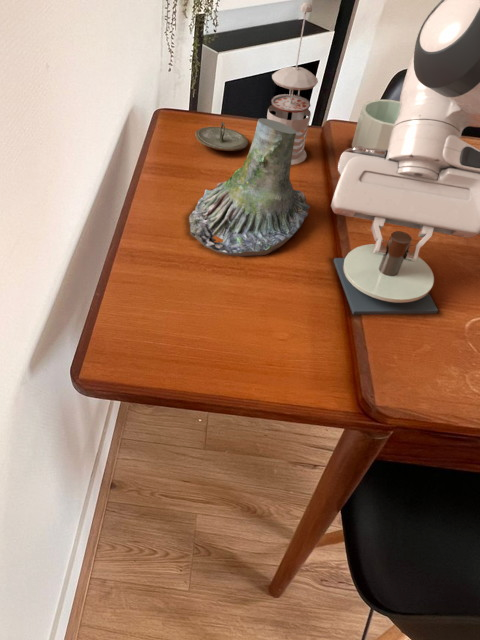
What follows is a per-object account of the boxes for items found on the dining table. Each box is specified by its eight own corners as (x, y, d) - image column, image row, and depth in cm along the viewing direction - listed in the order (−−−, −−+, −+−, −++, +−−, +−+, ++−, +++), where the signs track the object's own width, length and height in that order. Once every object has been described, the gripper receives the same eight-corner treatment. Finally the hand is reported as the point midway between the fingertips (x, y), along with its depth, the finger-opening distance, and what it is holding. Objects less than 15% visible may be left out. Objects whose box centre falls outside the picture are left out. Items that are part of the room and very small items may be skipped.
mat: (408, 261, 82) (410, 257, 81) (436, 314, 74) (438, 310, 73) (333, 262, 81) (334, 257, 80) (352, 315, 73) (353, 311, 72)
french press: (253, 162, 100) (272, 7, 81) (263, 135, 108) (282, -13, 89) (304, 170, 99) (336, 14, 80) (310, 142, 107) (340, -6, 88)
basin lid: (414, 250, 80) (430, 211, 75) (444, 305, 72) (464, 266, 67) (333, 250, 79) (344, 211, 74) (354, 306, 71) (368, 266, 66)
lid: (186, 155, 104) (185, 134, 99) (209, 124, 108) (208, 102, 103) (235, 171, 101) (236, 150, 97) (256, 139, 105) (258, 117, 101)
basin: (399, 137, 110) (412, 99, 104) (418, 165, 102) (432, 126, 96) (345, 136, 109) (354, 98, 103) (359, 164, 101) (371, 125, 96)
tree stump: (162, 217, 88) (181, 100, 77) (248, 209, 99) (276, 106, 88) (231, 270, 77) (265, 144, 67) (319, 254, 89) (360, 145, 78)
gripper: (345, 134, 70) (321, 238, 71) (507, 160, 67) (479, 268, 68) (340, 151, 76) (318, 246, 77) (488, 176, 73) (462, 275, 74)
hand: (394, 257), depth 72 cm, fingers closed on basin lid, 3 cm apart
